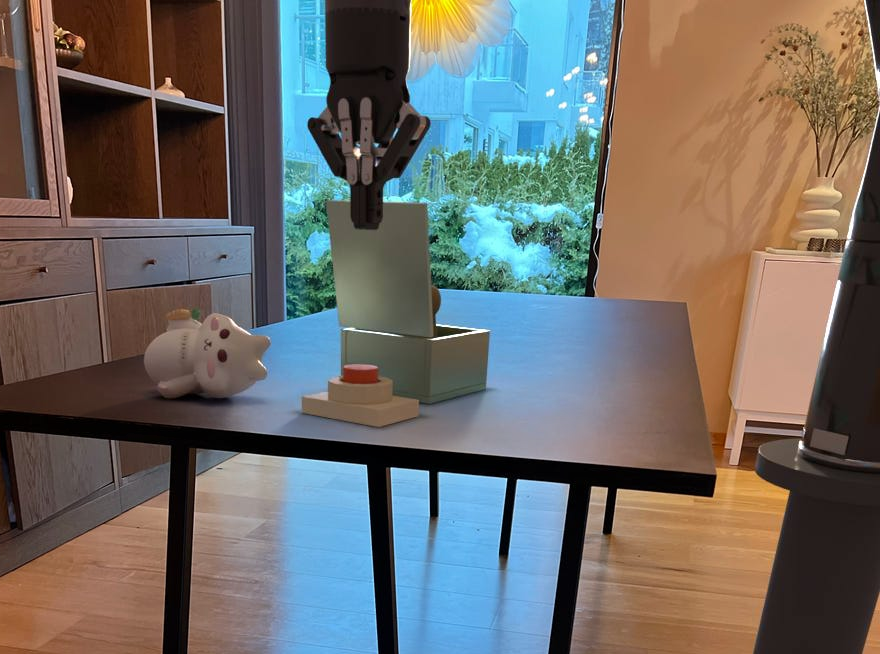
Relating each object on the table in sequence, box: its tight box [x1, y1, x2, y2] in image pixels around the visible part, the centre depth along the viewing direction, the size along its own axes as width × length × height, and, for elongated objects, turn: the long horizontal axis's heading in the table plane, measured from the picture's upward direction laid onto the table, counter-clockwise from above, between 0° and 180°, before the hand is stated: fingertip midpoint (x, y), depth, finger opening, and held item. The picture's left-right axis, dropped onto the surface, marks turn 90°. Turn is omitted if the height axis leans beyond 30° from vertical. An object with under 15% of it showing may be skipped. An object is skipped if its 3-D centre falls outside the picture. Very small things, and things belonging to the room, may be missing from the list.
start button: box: [343, 364, 378, 384], centre depth 92 cm, size 4×4×2 cm
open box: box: [340, 324, 491, 405], centre depth 106 cm, size 13×13×7 cm
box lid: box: [325, 199, 434, 337], centre depth 96 cm, size 13×13×1 cm
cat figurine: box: [143, 307, 272, 399], centre depth 98 cm, size 10×8×15 cm
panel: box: [301, 375, 420, 428], centre depth 93 cm, size 10×7×4 cm
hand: (366, 229), depth 86 cm, fingers closed
